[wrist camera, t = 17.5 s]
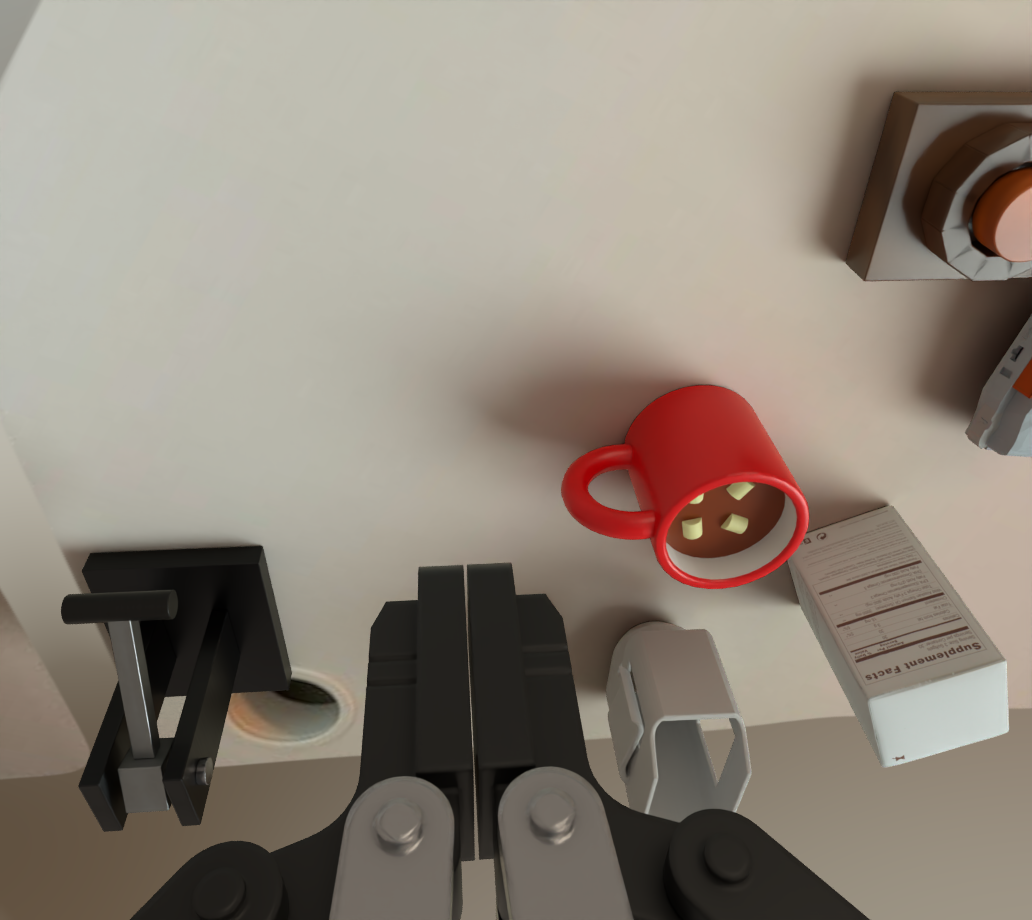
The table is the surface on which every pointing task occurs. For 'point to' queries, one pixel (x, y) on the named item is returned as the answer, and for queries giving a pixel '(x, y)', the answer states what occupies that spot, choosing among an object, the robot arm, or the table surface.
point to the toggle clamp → (188, 663)
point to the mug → (698, 489)
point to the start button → (1006, 216)
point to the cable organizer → (673, 722)
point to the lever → (132, 686)
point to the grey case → (1007, 402)
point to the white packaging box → (899, 638)
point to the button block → (939, 186)
